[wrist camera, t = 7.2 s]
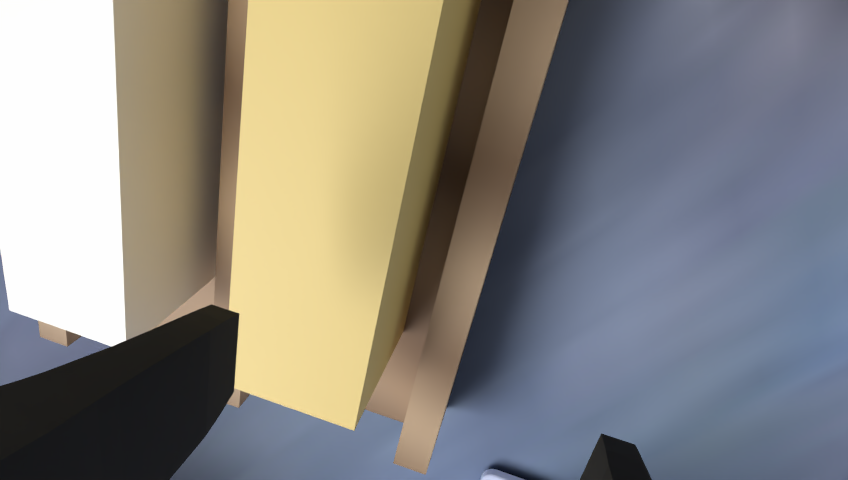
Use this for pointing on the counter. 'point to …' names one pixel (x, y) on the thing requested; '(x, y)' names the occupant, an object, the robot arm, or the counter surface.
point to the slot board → (450, 217)
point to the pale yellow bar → (337, 188)
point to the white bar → (109, 159)
